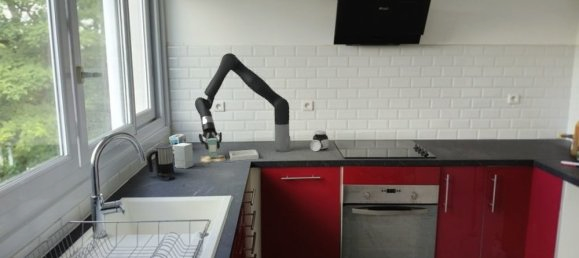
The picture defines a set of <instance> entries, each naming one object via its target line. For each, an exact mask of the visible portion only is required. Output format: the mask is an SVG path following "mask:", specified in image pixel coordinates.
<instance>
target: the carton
mask: <svg viewBox="0 0 579 258" xmlns="http://www.w3.org/2000/svg"><path fill="white" fill-rule="evenodd" d="M217 139H218V138H217ZM217 139H216V138H209V139H208V142H207V143H208V148H209V149H208V150H207V151H208V156H209V157H217V155H218V149H217Z"/></svg>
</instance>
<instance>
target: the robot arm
mask: <svg viewBox="0 0 579 258" xmlns="http://www.w3.org/2000/svg"><path fill="white" fill-rule="evenodd" d="M230 71H232V72H233V73H235V74H236V75H237V76H238V77H239V78H240V79H241V80H242V82H243V83H244V84H245V85H246V86H247V87H248V88H249V89H250V90H251V91H252V92H254V93H255V94H256V95H258V96H260V97H261V98H263V99H265V100H266V101H267V102H268V103H269V104H271V106H272V107H273V108H274V109H273V110H274V111H273V112H274V114H273V115H274V143H275V144H274V148H275V149H274V150H275V152H279V153H284V152H285V153H286V152H290V151H291V135H290V104H289V102H288V100H287V99H286V98H284V97H283V96H282V95H280V94H279V93H277V92H275V90H273V89H272V88H271V86H270V85H269V84H268V83H267V81H265V80H264V79H263V78H262V77H260V75H258V74H257V73H256V72H254V71H253V70H251V69H250V68H248V67H247V66H246V65H245V64H243V62H242V61H241V60H240V59H239V58H238V57H237V56H236V55H235V54H234V53H230V52H228V53H226V54H224V55H223V56H222V58H221V59H220V63H219V66H218V68H217V71H216V72H215V73H214V75H213V77H212V78H211V80H210V82H209V83H208V85H207V86H206V88H205V90H204V95H205V96H206V97H207V98H204V97H197V98H196V99H195V102H194V107H195V109H196V111H197V113H198V116H200V124H201V129H202V134H201V133H199V134H198V139H199V141H200V144H201V145H204V146H205V147H204V148H205V150H207V151H208V149H209V148H208V139H209V138H216V139H217V150H219V149H220V147H221V145H220V144H221V143H222V140H223V133H222V132H217V130H216V126H215V122H214V119H213V115H212V111H211V109H212V107H213V104H214V100H215V99H216V98H215V97H216V96H217V94H218V92H219V91H220V89H221V87H222V84H223V82H224V81H225V79H226V77H227V75H228V74H229V73H230ZM203 138H205V140H204V139H203Z"/></svg>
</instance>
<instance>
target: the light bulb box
mask: <svg viewBox="0 0 579 258" xmlns="http://www.w3.org/2000/svg"><path fill="white" fill-rule="evenodd" d="M168 141H169V145H173V147H172V149H173V155H174V145H177V144H180V143H187V135H186V134H184V133H183V134H182V133H176V134H173V135H171V136H169V137H168Z"/></svg>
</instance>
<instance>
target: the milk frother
mask: <svg viewBox="0 0 579 258" xmlns="http://www.w3.org/2000/svg"><path fill="white" fill-rule="evenodd" d="M172 147H173V145H170V144H159V145H156V146H154V149H153V150H149V151H148V152H147V154H146V157H145V158H146V166H147V170H148V172H149V173H153V172H154V167H153V159H152V157H153V156H154V158H155V159H154V161H155V171H156V173H155V174H156V176H159V177H165V178H168V179H172V178H175V169H174V166H175V165H174V154H173V149H172Z"/></svg>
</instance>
